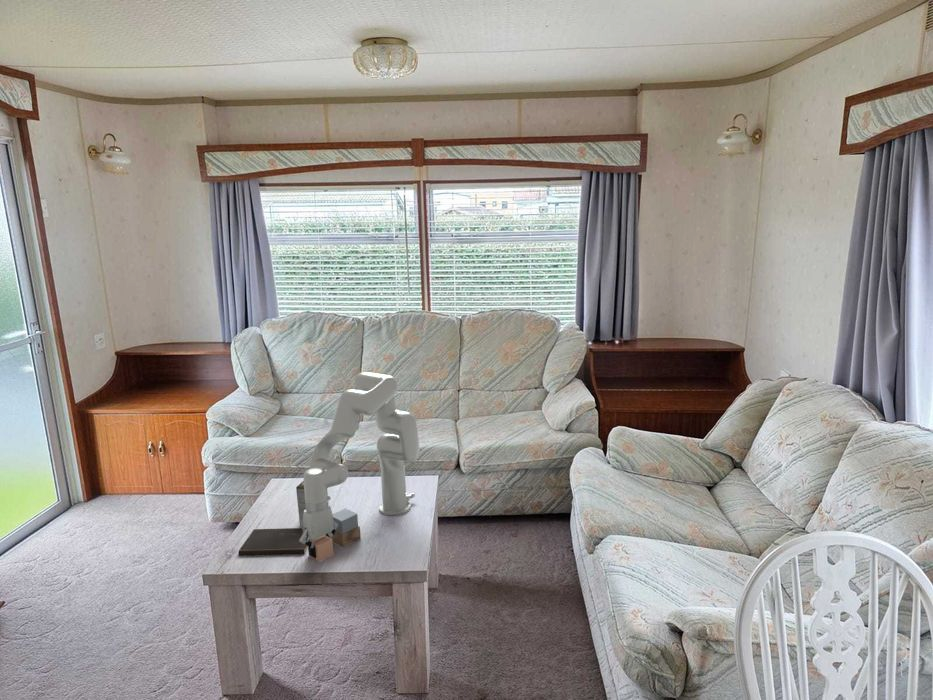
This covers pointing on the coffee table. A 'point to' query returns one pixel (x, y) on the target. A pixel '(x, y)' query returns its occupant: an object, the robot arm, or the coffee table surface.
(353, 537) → the tower bottom
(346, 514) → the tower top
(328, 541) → the terracotta cube
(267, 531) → the hardcover book
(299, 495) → the coffee box
